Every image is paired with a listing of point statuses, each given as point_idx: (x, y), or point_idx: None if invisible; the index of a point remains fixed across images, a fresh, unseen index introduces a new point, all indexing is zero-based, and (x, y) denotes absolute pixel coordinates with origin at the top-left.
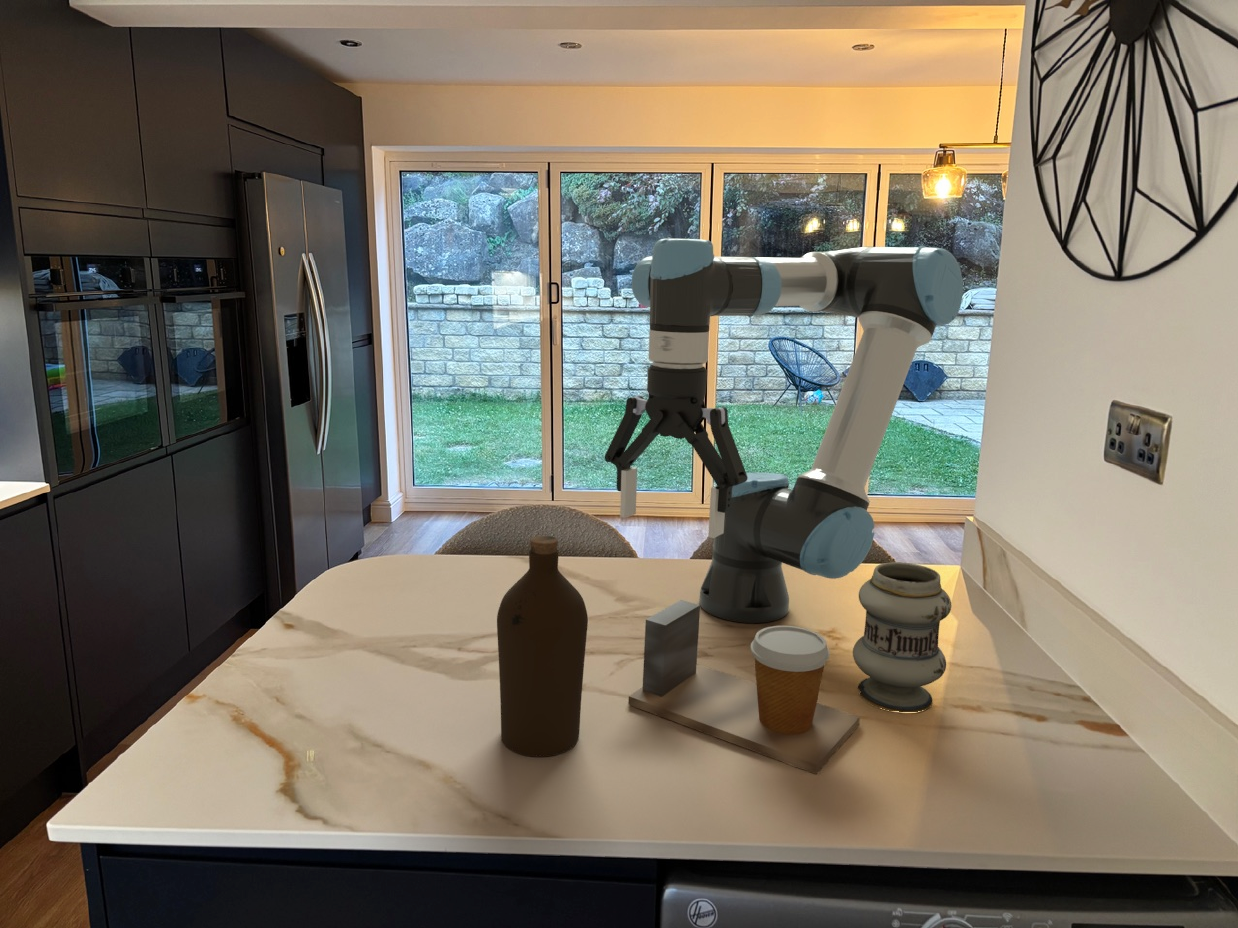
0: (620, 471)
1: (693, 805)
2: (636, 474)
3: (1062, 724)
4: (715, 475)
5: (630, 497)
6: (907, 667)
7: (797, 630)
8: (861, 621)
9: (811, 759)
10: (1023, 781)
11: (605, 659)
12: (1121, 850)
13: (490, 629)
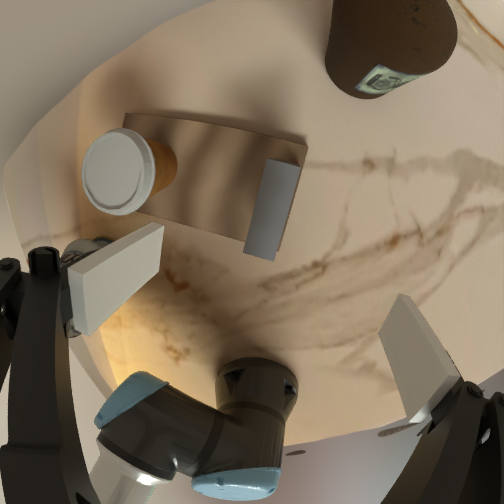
0: (457, 382)
1: (203, 33)
2: (405, 404)
3: None
4: (43, 296)
5: (403, 340)
6: (71, 245)
7: (112, 208)
8: (164, 377)
9: (129, 117)
10: (44, 182)
11: (361, 237)
12: (22, 143)
13: (470, 259)
